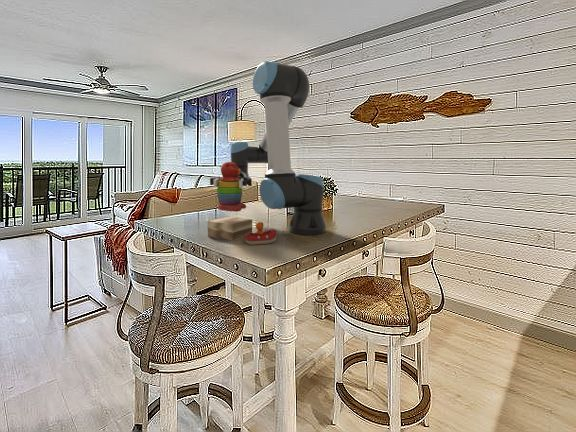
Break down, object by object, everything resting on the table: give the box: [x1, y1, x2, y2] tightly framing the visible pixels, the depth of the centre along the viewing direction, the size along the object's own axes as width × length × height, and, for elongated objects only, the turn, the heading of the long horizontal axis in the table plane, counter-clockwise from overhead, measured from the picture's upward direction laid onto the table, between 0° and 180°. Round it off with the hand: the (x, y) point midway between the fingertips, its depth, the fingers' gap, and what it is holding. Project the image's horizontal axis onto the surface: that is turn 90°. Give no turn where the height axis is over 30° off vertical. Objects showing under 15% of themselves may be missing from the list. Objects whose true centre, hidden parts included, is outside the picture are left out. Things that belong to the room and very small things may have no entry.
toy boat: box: [243, 221, 277, 246], centre depth 129 cm, size 8×12×8 cm, turn 111°
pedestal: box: [207, 216, 253, 241], centre depth 138 cm, size 12×12×6 cm
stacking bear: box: [216, 161, 247, 212], centre depth 136 cm, size 11×10×18 cm
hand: (227, 183), depth 131 cm, fingers closed on stacking bear, 9 cm apart
